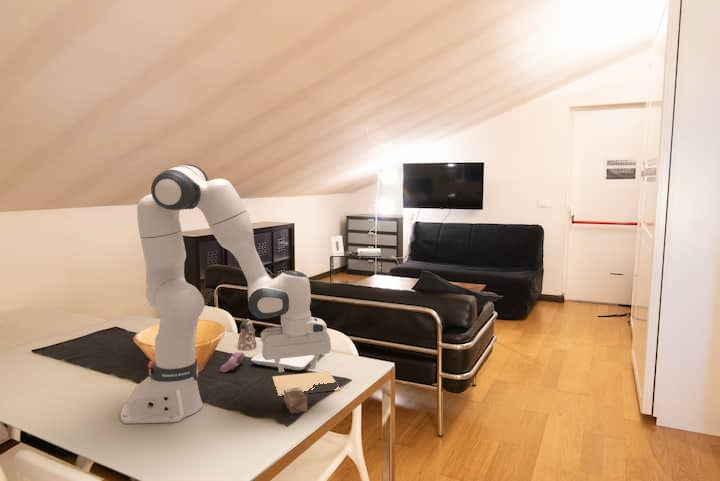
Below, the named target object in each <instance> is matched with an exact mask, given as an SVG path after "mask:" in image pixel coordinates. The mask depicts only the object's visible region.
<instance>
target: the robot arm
mask: <svg viewBox="0 0 720 481" xmlns="http://www.w3.org/2000/svg"><path fill="white" fill-rule="evenodd" d="M150 189H151V190H150V192H151V193H150V194H147V195H145V196H143V197H142V198H140V200H139V201H138V202H137V207H136V208H137V209H136V210H137V213H136V214H137V227H138V234H139V238H140V243H141V248H142V253H143V257H144V262H145V280H146V281H145V283H146V289H145V297H146V300H147V302H148V303H149V305H150V307H152V308H153V309H154V310H155V311H157V312H158V313H159V326H158V331H157V334H156V336H155V339H154V343H155V344H154V346H155V360H150V361H149V362H148V364H147V367H148V376H147V377H146V378H145V379H144V380H142V381H141V382H140V383H139V384H137V385H136V386H134V388H133V389H132V391H131V392H130V395H129V399H128V402H126V403H125V404H124V405H123V407H122V408H121V409H120V415H119V418H120V421H121V422H122V423H123V424H128V425H129V424H130V425H131V424H158V423H159V424H161V423H163V424H164V423H179V422H181V421H183V419H185V418H187V417H188V416H191V415H193V414H196V413H197V412H198V411H200V410H201V409H202V407H203V404H204V403H203V401H202V398H201V394H200V390H199V385H198V384H199V383H198V378H199V364H198V359H197V358H196V332H197V327H198V322H199V318H200V316H201V315H202V313H203V312H204V309H205V298H204V296H203V294H202V293H201V291H200V290H199V289H198V288H197V287H196V286H194V285H193V284H190V283H189V282H187V280H186V278H185V262H186V260H187V251H186V247H185V242H184V236H183V231H182V227H181V222H180V211H182V210H183V211H184V210H194V209H195V208H197V209H198V210H200V211H201V213H202V214H203V216H204V218H205V221H206V222H207V225H208V226H209V228H210V231H211V232H212V235H213V236H214V238H215V239H216V241H217V242H218V243H219V245H220V246H221V247H222V248H223V249H225V250H227V251H229V252H230V253H231V254H232V255H233V256H234V257H235V259H236V260H237V263H238V264H239V266H240V268H241V271H242V273H243V275H244V277H245V279H246V282H247V292H246V293H247V301H248V303H247V306H248V310H249V311H250V314H252V315H253V316H254V317H256V318H258V319H261V320H262V319H263V320H264V319H271V318H276V317H279V316H280V326H274V327H266V328H265V329H263V330H262V331H261V332H260V341H261V343H262V345H261V348H262V349H261V352H262V356H263V358H264V359H265V360H272V359H274V360H275V363H276V364H277V366H278V368H277V369H278V373H280V374H281V373H285V369H284V365H280V363H279V362H280V359H281V358H291V357H300V356H309V355H313V356H314V359H313V361H311V362H310V363H309V368H310V370H314V369H316V368H317V365H316V364H317V362H318V361H319V359H320V355H327V354H330V352H331V351H332V346H331V345H332V344H331V338H330V335H329V332H328V328H327V327H328V326H327V323H326V322H325V321H324V320H323V319H321V318H318V317H314V316H312V312H311V310H310V309H311V308H310V306H311V303H312V300H311V299H312V294H311V292H312V291H311V284H310V283H311V282H310V279H309V277H308V276H307V275H306V274H305V273H304V272H301V271H298V270H292V269H291V270H284V271H282V272H281V273H280V274H278V276H276V277H272V276H271V275H270V274H269V273H268V272H267V270H266V268H265V266H264V263H263V262H262V260H261V257H260V255H259V253H258V251H257V247H256V245H255V238H254V237H255V236H254V229H253V225H252V221H251V219H250V216H249V213H248V211H247V208H246V207H245V204H244V202H243V201H242V200H243V199H242V198H241V197H240V195H239V193H238V191H237V190H236V189H235V187H234V186H233V185H232V183H231V182H230V181H229V180H227V179H225V178H214V179H211V180H209V178H208V175H207V174H206V172H205V171H204V170H203V169H201V168H200V167H199V166H196V165H195V164H182V165H176V166H173V167H170V168H169V169H166V170H164V171H161V172H160V173H159V174H157V176H155V177H154V179H153V180H152V184H151V187H150ZM319 354H320V355H319Z"/></svg>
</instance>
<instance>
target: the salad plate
mask: <svg viewBox="0 0 720 481" xmlns="http://www.w3.org/2000/svg"><path fill="white" fill-rule="evenodd" d="M320 355H321V354H319V356H320ZM313 359H314V356H313V355H309V356H300V357H291V358H281V359H280V362H279V363H280V365H284V368H285V369H284V370H290V369H291V371H303V370H304V369H305V368H306V367H308V366H309V365H310V362H312V361H313ZM250 361H251V362H252V363H254V364H256V365H260V366H263V367H264V366H265V367H269V366H270V367H271V368H276V367H277V369H278V366H277V364H276V363H275V360H274V359H272V360H265V359H264V358H263V356H262V351H260V352H259V353H257V354H256V355H254V356H253V357H252V358H251V359H250Z"/></svg>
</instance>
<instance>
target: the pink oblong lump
mask: <svg viewBox="0 0 720 481" xmlns="http://www.w3.org/2000/svg"><path fill="white" fill-rule="evenodd" d="M245 355H246V354H245V353H244V352H242V351H241V352H240V351H238V352H234V353H232V354H231V357H230V358H229V359H228V360H227V361H226V362H225V363H224V364H222V365H221V366H220V368H219V371H220V373H227V372H228V371H234V369H235V368H237V367H239V366H240V363H241V362H242V360H243V359H244V357H245Z"/></svg>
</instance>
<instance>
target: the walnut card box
mask: <svg viewBox="0 0 720 481" xmlns="http://www.w3.org/2000/svg"><path fill="white" fill-rule="evenodd" d="M284 402H285V404H286V405H287V407H288V409H289V410H290V412H296V411H306V412H305V413H308V397H307V396H306V395H305V394H304V393H303V391H302V389H301V388H300V387H298V388H291V389H285V390H284V397H283V403H284ZM285 404H284V405H285ZM287 407H286V408H287ZM288 409H287V410H288Z"/></svg>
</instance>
